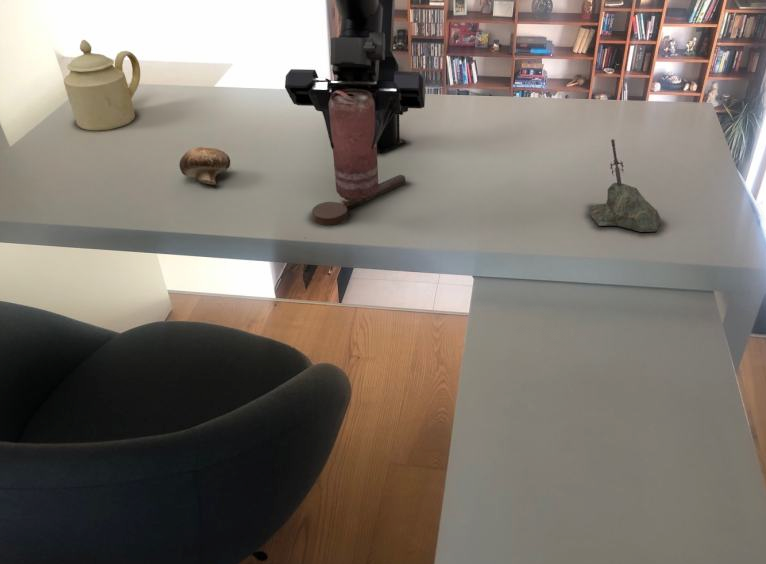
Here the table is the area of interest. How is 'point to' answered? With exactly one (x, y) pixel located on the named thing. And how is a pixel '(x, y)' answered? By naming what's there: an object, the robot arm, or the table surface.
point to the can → (354, 143)
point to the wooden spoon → (349, 204)
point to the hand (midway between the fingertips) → (352, 149)
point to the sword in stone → (625, 206)
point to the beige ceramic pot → (101, 89)
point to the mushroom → (204, 164)
